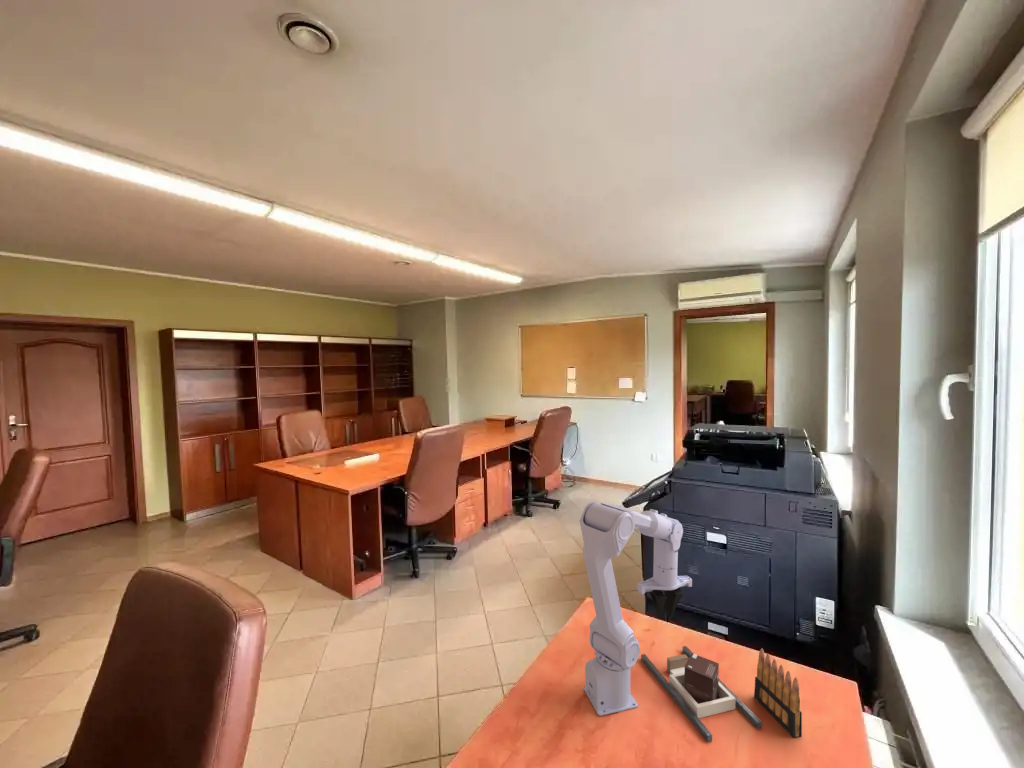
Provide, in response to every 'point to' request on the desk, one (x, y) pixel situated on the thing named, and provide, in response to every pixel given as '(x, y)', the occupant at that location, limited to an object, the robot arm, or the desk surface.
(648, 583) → the robot arm
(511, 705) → the desk surface
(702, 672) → the box
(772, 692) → the ammunition clip
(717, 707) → the frame
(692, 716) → the track
